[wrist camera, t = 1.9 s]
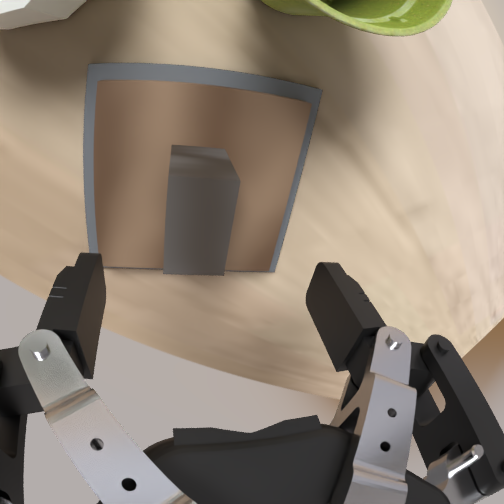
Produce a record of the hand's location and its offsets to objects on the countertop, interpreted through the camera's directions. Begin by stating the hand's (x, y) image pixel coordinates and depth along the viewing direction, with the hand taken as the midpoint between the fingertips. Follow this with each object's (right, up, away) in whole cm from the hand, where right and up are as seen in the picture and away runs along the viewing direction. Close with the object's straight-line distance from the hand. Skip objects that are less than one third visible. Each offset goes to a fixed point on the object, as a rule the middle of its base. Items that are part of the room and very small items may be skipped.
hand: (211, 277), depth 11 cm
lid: (-2, +5, +8) cm, 10 cm away
